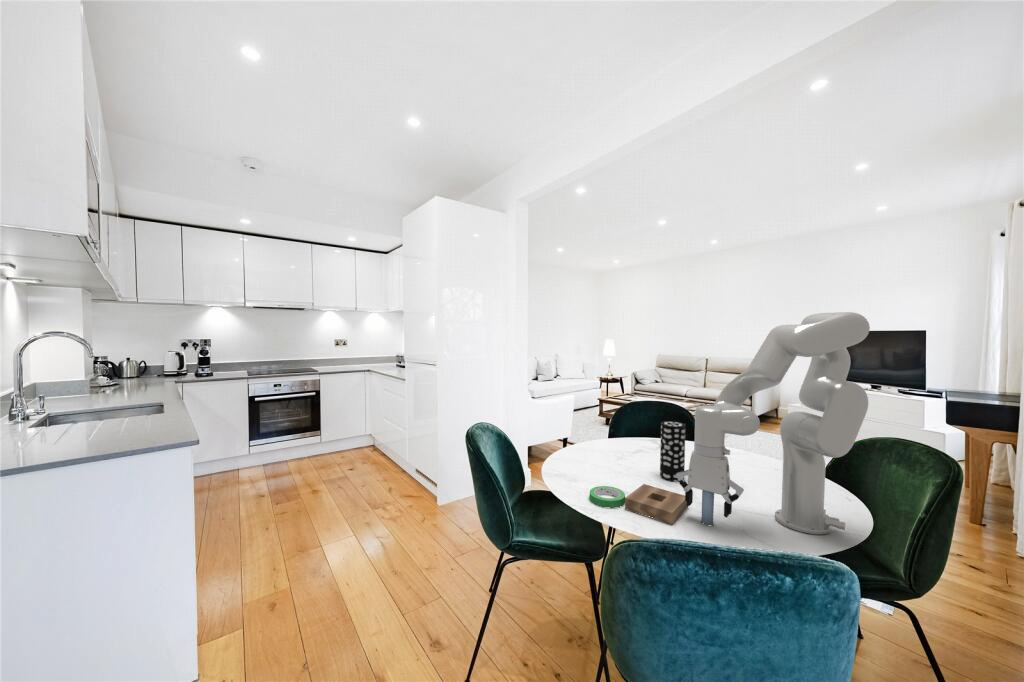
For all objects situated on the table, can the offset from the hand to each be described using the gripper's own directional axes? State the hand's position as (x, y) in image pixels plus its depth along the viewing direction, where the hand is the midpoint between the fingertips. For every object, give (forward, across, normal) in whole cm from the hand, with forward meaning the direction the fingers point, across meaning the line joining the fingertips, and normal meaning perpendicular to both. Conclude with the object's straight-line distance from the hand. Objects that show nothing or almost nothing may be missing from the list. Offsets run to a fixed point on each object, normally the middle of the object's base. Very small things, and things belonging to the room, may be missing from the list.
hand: (707, 509), depth 108 cm
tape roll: (+4, +28, +6) cm, 29 cm away
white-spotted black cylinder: (+4, +19, -27) cm, 33 cm away
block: (+4, +14, +1) cm, 15 cm away
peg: (+4, 0, 0) cm, 4 cm away
